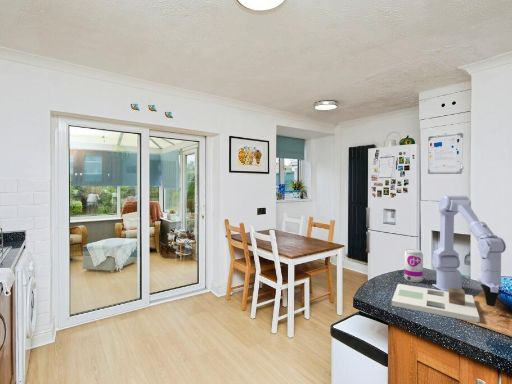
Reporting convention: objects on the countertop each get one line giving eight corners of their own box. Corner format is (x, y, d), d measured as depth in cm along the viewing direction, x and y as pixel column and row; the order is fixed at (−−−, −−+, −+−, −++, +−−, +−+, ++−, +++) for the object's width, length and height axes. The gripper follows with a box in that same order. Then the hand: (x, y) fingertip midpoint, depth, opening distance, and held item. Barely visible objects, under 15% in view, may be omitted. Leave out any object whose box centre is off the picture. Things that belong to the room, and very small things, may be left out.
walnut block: (463, 301, 114) (463, 290, 114) (464, 305, 110) (464, 294, 110) (448, 298, 117) (448, 287, 117) (449, 303, 113) (449, 291, 113)
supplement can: (422, 283, 140) (422, 253, 140) (403, 281, 144) (403, 251, 144) (423, 279, 147) (423, 250, 146) (405, 276, 151) (405, 248, 151)
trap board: (472, 300, 120) (472, 295, 120) (479, 322, 101) (479, 317, 101) (397, 287, 135) (398, 283, 135) (391, 305, 115) (391, 300, 115)
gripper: (474, 263, 116) (474, 296, 116) (480, 273, 103) (480, 310, 104) (497, 265, 112) (496, 300, 113) (506, 276, 100) (505, 314, 100)
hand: (490, 305), depth 108 cm, fingers closed
